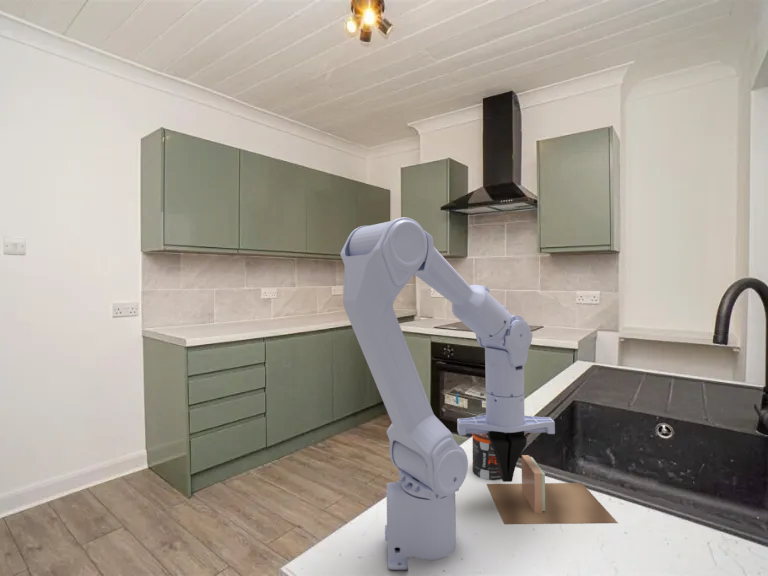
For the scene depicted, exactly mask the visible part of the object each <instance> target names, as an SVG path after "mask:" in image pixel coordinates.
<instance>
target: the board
mask: <svg viewBox="0 0 768 576" xmlns="http://www.w3.org/2000/svg"><path fill="white" fill-rule="evenodd" d="M486 487H487V488H488V491H489V493H490V496H491V498H492V501H493V502H494V504H495V507H496V509H497V512H498V513H499V515H500V517H501V521H502V522H503V524H504V525H553V524H554V525H559V524H561V525H563V524H565V525H568V524H571V525H573V524H576V525H577V524H581V525H583V524H619V522H618V521H617V520H616V519H615V517H613V515H612V514H610V512H609V511H608V510H607V509H606V508H605V507H604V506H603V505H602V503H601V502H600V501H599V500H598V499H597V498H596V496H594V494H593V493H592V492H591V491H590V490H589V489H588V488H587V487H586V486H585V484H583V482H552V483H551V482H548V483H546V482H545V511H542V513H534V511H533V509H532V507H531V506H530V504H529V502H528V501H527V499H526V497H525V496H524V494H523V492H522V483H486Z"/></svg>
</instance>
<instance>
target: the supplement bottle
mask: <svg viewBox="0 0 768 576" xmlns="http://www.w3.org/2000/svg"><path fill="white" fill-rule="evenodd" d="M484 415H486V412H481V413H479V414H478V415H477V417H478V416H484ZM472 473H473V475H475V476H476V477H478V478H479V479H483V480H486V481H487V480H489V481H499V480H502V479H501V477H500V473H499V467H498V463H497V459H496V456H495V453H494V450H493V447H492V445H491V443H490V440H489V438H488V436H487V434H486V433H472Z"/></svg>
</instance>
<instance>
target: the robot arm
mask: <svg viewBox="0 0 768 576" xmlns="http://www.w3.org/2000/svg"><path fill="white" fill-rule="evenodd" d="M433 237H434V236H433V235H432V234H430V233H428V232H427V231H426V230H424V228H423V227H422V226H421V224H420V223H419V222H417V220H415V219H413V218H411V217H406V216H405V217H404V216H402V217H398V218H396V219H393V220H390V221H385V222H381V223H377V224H371V225H367V224H366V225H361V226H358V227H357V228H355V229H354V230H352V231H351V232H350V234H349V235H348V237H347V239H346V241H345V243H344V244H343V247H342V249H341V252H340V253H339V255H340V257H341V259H342V262H343V265H344V271H343V272H344V275H343V278H344V279H343V300H342V301H343V307H344V310H345V313H346V315H347V317H348V320H349V322H350V326H351V327H352V330H353V332H354V334H355V337H356V338H357V339H356V340H357V341H358V342H357V343H358V345H359V346H360V349H361V351H362V354H363V356H364V359H365V360H366V363H367V365H368V369H369V370H370V373H371V376H372V377H373V380H374V383H375V385H376V388H377V390H378V392H379V395H380V397H381V399H382V402H383V405H384V407H385V410H386V412H387V414H388V417H389V419H390V421H391V424H390V425H389V426H388V428H387V430H386V435H387V437H388V442H389V459H390V461H391V463H392V464H393V466H395V467H396V468H397V469H398V470H397V471H398V478H399V479H400V480H397V481H392V482H387V483H386V524H385V526H384V541H385V542H387V544H386V545H387V568H388V570H397V571H398V570H403V571H404V570H409V565H408V563H409V561H408V558H415V559H416V558H417V559H421V560H427V561H434V560H436V561H437V560H441V559H444V558H447V557H448V556H450V555H451V554H452V553H453V552H454V551H455V550H456V547H457V526H456V525H457V519H456V516H457V515H456V513H457V512H456V510H457V509H456V507H457V506H456V492H458V491H459V490H460V488H461V487H462V486H463V483H464V482H465V480H466V477H467V474H468V469H469V467H468V466H469V461H468V455H467V453H466V451H465V449H464V448H463V447H462V446H461V445H459V444H458V443H457V441H456V440H455V439H454V436H453V433H452V432H451V431H450V429H449V428H447V427H446V425H445V424H444V423H443V422H442V421H441V420H440V419H439V418H438V417H437V416H436V415H435V414H434V411H433V409H432V406H431V404H430V401H429V398H428V395H427V393H426V390H425V388H424V385H423V382H422V380H421V377H420V375H419V371H418V369H417V367H416V364H415V362H414V359H413V355H412V354H411V351H410V348H409V345H408V343H407V341H406V338H405V335H404V333H403V330H402V328H401V325H400V322H399V319H398V317H397V314H396V311H395V309H394V304H395V303H394V302H395V300H396V298H397V297H398V296H399V294H401V291H403V289H404V288H405V287H406V286H407V284H408V283H409V281H410V280H411V279H412V278H413V276H416V277H417V278H418V279H420V281H422V282H424V283H425V284H427V286H429V287H430V288H431V289H433V290H434V291H435V292H437V293H438V294H440V295H441V296H442V297H444V298H445V299H446V300H448V301H449V302H450V303H452V304H451V311H452V314H453V315H454V316H455V318H457V319H458V321H460V322H461V323H462V324H464V325H465V326H466V327H467V328H469V330H470V331H472V332H473V333H474V334H475V337H476V338H475V339H476V341H477V344H478V346H479V347H481V348H484V360H485V362H484V363H485V365H484V367H485V413H486V415H484V416H478V415H477V416H473V417H472V416H471V417H466V418H457V420H456V423H457V424H456V425H457V426H456V427H457V429H456V430H457V433H458V435H459V436H466V435H467V434H473V433H486V434H487V436H488V438H489V440H490V443H491V445H492V447H493V450H494V453H495V456H496V459H497V463H498V467H499V473H500V477H501V479H500V480H502V482H503V483H506V482H507V483H508V482H509V483H512V482H513V478H514V473H515V470H516V466H517V463H518V460H519V459H520V456H521V454H522V452H523V451H524V449H525V448H526V447H527V441H528V439H527V437H526V435H525V433H526V434H527V433H531V434H532V433H533V434H534V433H547V434H548V435H555V433H556V427H555V425H556V423H555V421H554V420H553V419H552V417H549V416H532V415H525V365H526V364H527V361H528V356H529V355H528V353H529V349H530V347H531V345H532V340H533V332H532V331H531V327H530V325H529V323H528V322H527V321H526V320H525V319H524V318H523V317H522V316H519V315H513V314H511V313H510V312H509V310H508V307H506V305H504V304H501V303H500V302H499V301H498V300H497V299H496V298H495V296H494V297H493V295H491V293H490V292H491V289H490V288H489V287H488V286H486V285H480V284H469V283H468V282H467V281H466V280H465V279H464V278H463V277H462V275H461V274H459V272H458V271H457V270H456V269H455V268H454V267H453V266H452V265H451V264H450V262H449V261H448V260H447V259H446V258H445V257H444V256H443V255H442V254H441V252H439V250H437V248H436V247H435V245H434V243H435V242H434V238H433Z"/></svg>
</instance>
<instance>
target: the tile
mask: <svg viewBox="0 0 768 576" xmlns="http://www.w3.org/2000/svg"><path fill="white" fill-rule="evenodd" d="M545 483H546V473H545V472H544V471H543V469H542V468H541V467H540V465H538V463H537V461H536V460H535V459H534V457H533V456H530V455H529V454H526V455H525V454H522V455H521V484H522V492H523V494H524V496H525V497H526V499H527V501H528V502H529V504H530V506H531V507H532V509H533V511H534V513H542V511H545Z"/></svg>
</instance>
